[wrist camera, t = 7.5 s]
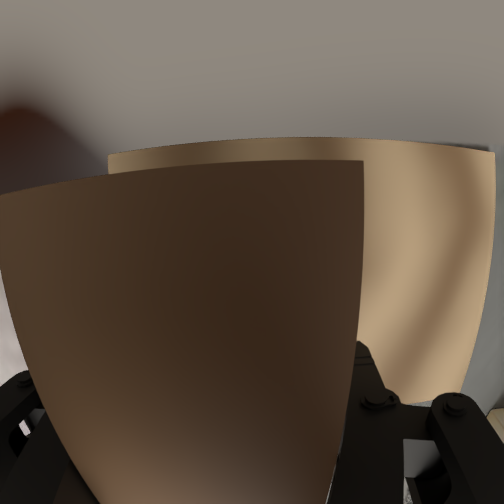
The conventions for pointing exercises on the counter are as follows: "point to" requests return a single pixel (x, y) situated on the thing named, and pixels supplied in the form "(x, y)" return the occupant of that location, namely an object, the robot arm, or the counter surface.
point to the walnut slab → (192, 324)
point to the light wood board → (395, 245)
